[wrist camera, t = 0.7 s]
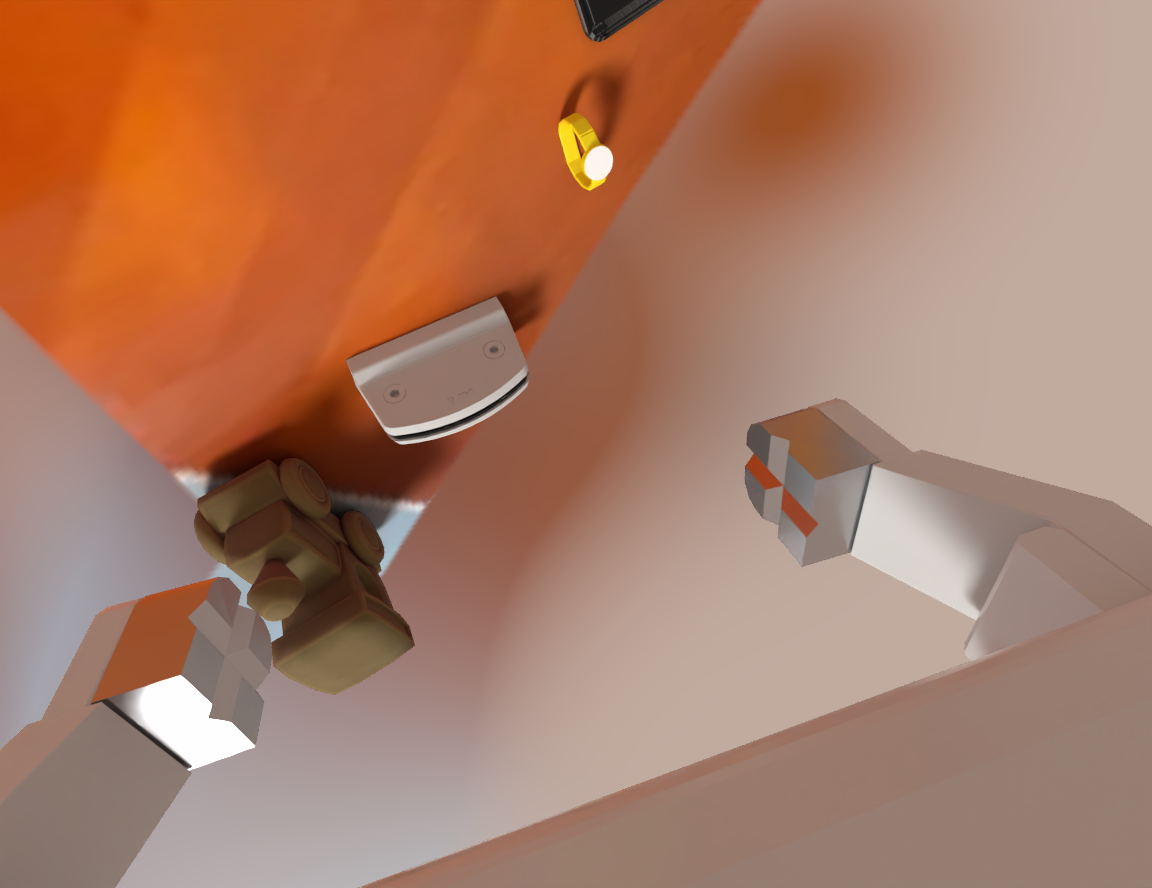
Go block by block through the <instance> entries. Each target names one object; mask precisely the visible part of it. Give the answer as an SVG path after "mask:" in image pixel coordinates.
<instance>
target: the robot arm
mask: <svg viewBox="0 0 1152 888" xmlns="http://www.w3.org/2000/svg"><path fill="white" fill-rule="evenodd" d="M747 446H748V447H749V448H750V449H751V451H752V452H753V453H754V454H753V455H752V457H751V458H750V460H749V461H748V463H747V464H746V465H745V484H746V488H747V491H748V495H749V498H750V500H751V502H752V504H753V506H754V507H755V509H756V510H757V512H758V513H759V514H760V516H761V517H762V518H763V519H765V520H768V521H770V522H772V523H775V524H777V525H779V530H778V531H779V532H778V538H779V539H780V541H781V542H782V543H783V544H784V546H785V547H786V548H787V549H788V551H789V552H790V553H791V554H792V555H793V557H794V558H795V559H796V560H797V561H798V563H799V564H800V565H801V567H802V566H806V565H810V564H813V563H816V562H819V561H823V560H826V559H830V558H833V557H836V556H840V555H843V554H846V553H850V552H851V555H852V556H854V557H856V558H858V559H860V560H862V561H864V562H866V563H868V564H869V565H871V566H873V567H875V568H877V569H879V570H881V571H883V572H885V573H887V574H889V575H890V576H892V577H894V578H896V579H898V580H900V581H902V582H904V583H906V584H908V585H910V586H912V587H913V588H915V589H917V590H919V591H921V592H923V593H925V594H927V595H929V596H931V597H933V598H935V599H936V600H939V601H940V602H942V603H944V604H946V605H948V606H950V607H952V608H954V609H956V610H958V611H960V612H961V613H963V614H965V615H967V616H969V617H971V618H973V619H975V620H976V622H975V624H974V626H973V628H972V630H971V632H970V634H969V636H968V638H967V640H966V642H965V647H964V654H965V655H966V656H967V657H968V658H969V659H970V660H971V661H969V662H967V663H964V664H961V665H958V666H956V667H953V668H950V669H947V670H945V671H942V672H939V673H937V674H934V675H931V676H929V677H926V678H923V679H921V680H918V681H915V682H912V683H910V684H907V685H904V686H901V687H899V688H896V689H893V690H891V691H888V692H885V693H883V694H880V695H877V696H874V697H872V698H869V699H866V700H864V701H861V702H858V703H856V704H853V705H850V706H848V707H845V708H842V709H840V710H837V711H834V712H831V713H829V714H826V715H823V716H821V717H818V718H815V719H813V720H810V721H807V722H805V723H802V724H799V725H796V726H794V727H791V728H788V729H785V730H783V731H780V732H777V733H775V734H772V735H769V736H766V737H764V738H761V739H758V740H756V741H753V742H750V743H748V744H745V745H742V746H739V747H737V748H734V749H731V750H729V751H726V752H723V753H721V754H718V755H715V756H713V757H710V758H707V759H704V760H702V761H699V762H696V763H694V764H691V765H689V766H686V767H683V768H680V769H678V770H675V771H672V772H669V773H667V774H664V775H661V776H659V777H656V778H653V779H650V780H648V781H645V782H642V783H640V784H637V785H634V786H631V787H629V788H626V789H623V790H621V791H618V792H615V793H613V794H610V795H607V796H604V797H602V798H599V799H597V800H594V801H591V802H588V803H586V804H583V805H580V806H577V807H575V808H572V809H569V810H567V811H564V812H561V813H559V814H556V815H553V816H550V817H548V818H545V819H542V820H540V821H537V822H534V823H532V824H529V825H526V826H524V827H521V828H518V829H515V830H513V831H510V832H507V833H505V834H502V835H499V836H496V837H494V838H491V839H489V840H486V841H483V842H480V843H478V844H475V845H472V846H470V847H467V848H464V849H461V850H459V851H456V852H453V853H451V854H448V855H445V856H442V857H440V858H437V859H434V860H432V861H429V862H426V863H424V864H421V865H419V866H416V867H413V868H410V869H407V870H405V871H402V872H399V873H397V874H394V875H391V876H389V877H386V878H383V879H380V880H378V881H375V882H372V883H370V884H367V885H364V886H362V887H359V888H1152V526H1151V525H1149V524H1147V523H1146V522H1144V521H1143V520H1141V519H1140V518H1138V517H1136V516H1135V515H1133V514H1131V513H1130V512H1128V511H1127V510H1125V509H1124V508H1122V507H1120V506H1119V505H1117V504H1116V503H1114V502H1112V501H1109V500H1105V499H1101V498H1098V497H1094V496H1090V495H1086V494H1083V493H1079V492H1076V491H1072V490H1068V489H1065V488H1061V487H1057V486H1053V485H1050V484H1046V483H1042V482H1039V481H1035V480H1031V479H1028V478H1024V477H1020V476H1016V475H1013V474H1009V473H1006V472H1002V471H998V470H994V469H991V468H987V467H983V466H979V465H975V464H972V463H968V462H965V461H961V460H958V459H954V458H950V457H946V456H943V455H939V454H935V453H932V452H928V451H924V450H920V451H916V452H912V451H910V450H909V449H908V448H907V447H905V446H904V445H903V444H901V443H900V442H899V441H897V440H896V439H895V438H893V437H892V436H891V435H890V434H888V433H887V432H886V431H884V430H883V429H881V428H880V427H879V426H878V425H876V424H875V423H874V422H872V421H871V420H870V419H869V418H867V417H866V416H865V415H863V414H862V413H861V412H859V411H858V410H857V409H855V408H854V407H853V406H851V405H850V404H849V403H848V402H846V401H844V400H840V399H833V400H829V401H826V402H823V403H820V404H816V405H813V406H810V407H808V408H807V409H802V410H799V411H795V412H792V413H789V414H785V415H782V416H778V417H775V418H771V419H768V420H765V421H762V422H758V423H755V424H751V426H750V428H749V431H748V433H747ZM240 596H241V591H240V590H239V589H238V588H237V587H236V586H235V584H234V583H233V582H232V581H231V580H230V579H229V578H224V577H217V578H213V579H209V580H205V581H201V582H198V583H194V584H190V585H187V586H183V587H179V588H175V589H171V590H168V591H164V592H160V593H156V594H152V595H149V596H145V597H144V598H140V599H136V600H132V601H129V602H125V603H121V604H117V605H113V606H110V607H107V608H105V609H104V610H103V611H101V612H100V613H99V614H97V615H96V616H95V618H94V620H93V622H92V624H91V625H90V627H89V629H88V631H87V633H86V635H85V637H84V639H83V641H82V643H81V645H80V647H79V649H78V650H77V652H76V654H75V656H74V658H73V660H72V662H71V664H70V666H69V668H68V670H67V672H66V674H65V675H64V678H63V679H62V682H61V683H60V685H59V687H58V689H57V691H56V693H55V695H54V697H53V699H52V701H51V702H50V705H49V706H48V708H47V710H46V712H45V714H44V716H43V718H42V720H40V721H37V722H34V723H31V724H28V725H27V726H25V727H24V728H23V729H22V730H21V731H20V732H19V733H18V734H17V735H16V736H15V737H14V738H13V739H11V740H10V741H9V742H8V743H7V744H6V745H5V746H4V747H3V748H2V749H1V750H0V888H115V887H116V886H117V884H118V883H119V881H120V879H121V878H122V877H123V875H124V874H125V872H126V870H127V869H128V868H129V866H130V865H131V863H132V862H133V860H134V859H135V857H136V856H137V854H138V853H139V851H140V850H141V848H142V846H143V845H144V844H145V842H146V841H147V839H148V838H149V836H150V834H151V833H152V831H153V830H154V829H155V827H156V826H157V824H158V823H159V821H160V819H161V818H162V817H163V815H164V813H165V812H166V811H167V809H168V808H169V806H170V804H171V803H172V802H173V800H174V799H175V797H176V795H177V794H178V793H179V791H180V789H181V788H182V786H183V785H184V783H185V782H186V780H187V779H188V777H189V776H190V774H191V771H190V770H191V769H193V768H196V767H199V766H202V765H204V764H207V763H210V762H213V761H216V760H218V759H221V758H224V757H227V756H229V755H233V754H235V753H238V752H241V751H244V750H246V749H249V748H252V747H255V746H256V741H257V736H258V731H259V725H260V720H261V715H262V710H263V704H264V700H263V699H262V698H261V696H260V695H259V694H258V693H257V692H256V689H257V688H258V687H259V685H260V684H261V683H262V682H263V680H264V679H265V678H266V676H267V675H268V674H269V673H270V666H271V660H272V647H271V638H270V634H269V631H268V629H267V626H266V624H265V622H264V620H263V619H262V618H261V616H260V615H259V614H258V613H257V611H255V610H252V609H249V608H246V607H243V606H240V605H238V603H239V600H240Z"/></svg>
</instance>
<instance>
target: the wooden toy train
mask: <svg viewBox="0 0 1152 888" xmlns="http://www.w3.org/2000/svg"><path fill="white" fill-rule="evenodd" d="M198 509H199V510H198V511H197V513H196V515H195V519H194V528H195V533H196V535H197V538H198V540H199V542H200V543H201V545H202V546H203V548H204V549H205V550H206V551H207V552H208V553H209V555H210V556H212V557H213V558H214V559H216V560H217V561H218V562H221V563H223V564H225V565H227V567H228V568H230V569H231V570H232V571H234V572H235V573H236V574H238V575H239V576H240V577H242V578H243V579H244V580H246V581H247V582H249V583H250V584H252V587H251V589H250V591H249V592H248V594H247V605H249V606H250V607H251V608H252V609H253V610H255V611H257V613H258V614H259V615H261V616H262V617H263V618H264V619H266V620H268V621H279V620H282V629H283V636H281V637H280V638H278V639H276V640H275V641H273V642H272V643H271V644H272V655H273V666H274V667H275V668H276V669H278V670H279V671H280V672H282V673H283V674H284V675H286V676H287V677H288V678H290V679H292V680H294V681H297V682H299V683H301V684H303V685H306V686H308V687H310V688H312V689H314V690H316V691H321V692H326V693H330V694H334V695H335V694H338V693H340V692H342V691H344V690H346V689H348V688H350V687H352V686H354V685H356V684H358V683H360V682H362V681H363V680H365V679H366V678H368V677H370V676H371V675H372V674H375V673H376V672H378V671H379V670H381V669H382V668H384V667H386V666H387V665H389V664H391V663H392V662H394V661H395V660H396V659H398V658H399V657H400V656H401V655H403V654H404V653H406V652H407V651H408V650H410V649H411V648H412V647H413V646H415V644H414V641H413V638H412V634H411V630H410V627H409V625H408V624H407V622H405V620H404V619H403V618H402V617H401V616H400V614H398V613H397V612H396V611H394V609H393V606H392V604H391V601H390V599H389V596H388V594H387V591H386V588H385V586H384V585H383V582H382V580H381V578H380V576H379V574H378V573H379V572H380V571H381V567H380V564H379V563H380V562H381V561H382V559H383V557H384V546H383V544H382V541H381V539H380V537H379V535H378V533H377V531H376V530H375V528H374V526H373V525H372V524H371V522H370V521H369V520H368V519H367V518H366V517H365V516H364V515H363V514H361V513H360V512H357V511H348V512H346V513H345V514H344V515H343V516H342V519H341V521H340V520H339V519H338V518H337V517H336V516H335V515H333V514H332V513H331V512H330V509H331V498H330V495H329V492H328V490H327V488H326V486H325V484H324V483H323V481H322V479H321V478H320V477H319V475H318V474H317V473H316V471H315V470H314V469H313V468H312V467H311V466H310V465H309V464H307V463H306V462H305V461H303V460H301V459H298V458H287V459H284V461H283V462H282V463H281V464H280V466H279V467H278V466H277V465H275V464H274V463H273V462H272V461H271V460H270V459H268V460H266V461H264V462H263V463H261V464H259V465H257V466H255V467H254V468H252V469H250V470H248V471H247V472H245V473H243V474H241V475H239V476H238V477H236V478H234V479H232V480H231V481H229V482H227V483H225V484H223V485H222V486H220V487H218V488H216V489H215V490H213V491H211V492H209V493H207V494H206V495H204V496H202V497H200V498H199V499H198Z"/></svg>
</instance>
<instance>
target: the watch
mask: <svg viewBox="0 0 1152 888" xmlns="http://www.w3.org/2000/svg"><path fill="white" fill-rule="evenodd" d="M574 132H575V134H576V135H577V137H578V138H579V140H580V142H581V144H582V146H583V148H584V150H585V152H584V154H583V156H582V158H581V157H580V153H579V149H578V146H577V142H576V138H575V135H574ZM558 133H559V137H560V140H561V143H562V147H563V150H564V154H565V157H566V163H567V165H568V167H569V168H570V170H571V172H572V174H573V176H574V177H575V179H576V180H577V181H578V183H579V184H580V185H581V186H582V187H583V188H585V189H587V190H592V189H594V188H595V187H597V186H599V185H601V184H602V183H603V182H604V181H605V180H606V176H607V175H608V173H609V172H610V170H611V168H612V164H613V155H612V152H611V150H610V149H609V148H608V147H607V146H605V145H603V144H601V143H600V142H599V140H598V138H597V136H596V134H595V131H593V128H592V127H591V125H590V124H589V122H588V121H587V120H586V118H585V117H583V116H582V115H580V114H579V113H576V112H575V113H574V114H572V115H570V116H568V117H566V118H564V119H562V120H561V121H560V122H559V128H558Z"/></svg>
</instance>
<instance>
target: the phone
mask: <svg viewBox="0 0 1152 888" xmlns="http://www.w3.org/2000/svg"><path fill="white" fill-rule="evenodd" d="M662 1H663V0H574V2H575V5H576V8H577V11H578V14H579V17H580V21H581V24H582V27H583V30H584V32H585V35H586V36H587V37H588V38H589V39H591V40H593V41H596V42H601V41H603V40H605V39H607V38H608V37H610V36H611V35H613V34H614V33H616V32H617V31H619V30H620V29H622V28H623V27H625V26H626V25H628V24H629V23H631V22H632V21H634V20H635V19H637V18H638V17H640V16H641V15H643V14H644V13H645V12H647V11H648V10H650V9H651V8H653V7H654V6H656V5H657V4H659V3H660V2H662Z"/></svg>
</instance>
